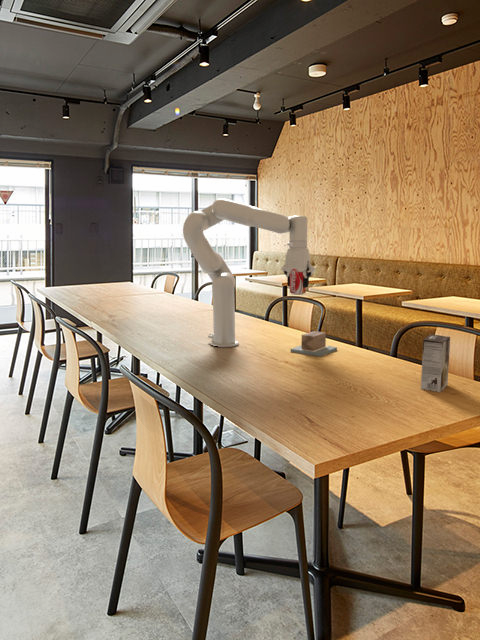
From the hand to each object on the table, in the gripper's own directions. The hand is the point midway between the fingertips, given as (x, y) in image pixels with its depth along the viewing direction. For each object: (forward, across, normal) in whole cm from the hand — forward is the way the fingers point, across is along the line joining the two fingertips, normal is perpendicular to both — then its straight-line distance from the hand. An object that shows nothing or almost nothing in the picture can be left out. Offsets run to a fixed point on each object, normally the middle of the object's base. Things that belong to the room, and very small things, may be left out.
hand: (297, 286), depth 219 cm
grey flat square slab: (+26, +12, -6) cm, 29 cm away
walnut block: (+24, +12, -6) cm, 28 cm away
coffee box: (+26, +67, -28) cm, 77 cm away
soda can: (+4, 0, 0) cm, 4 cm away
